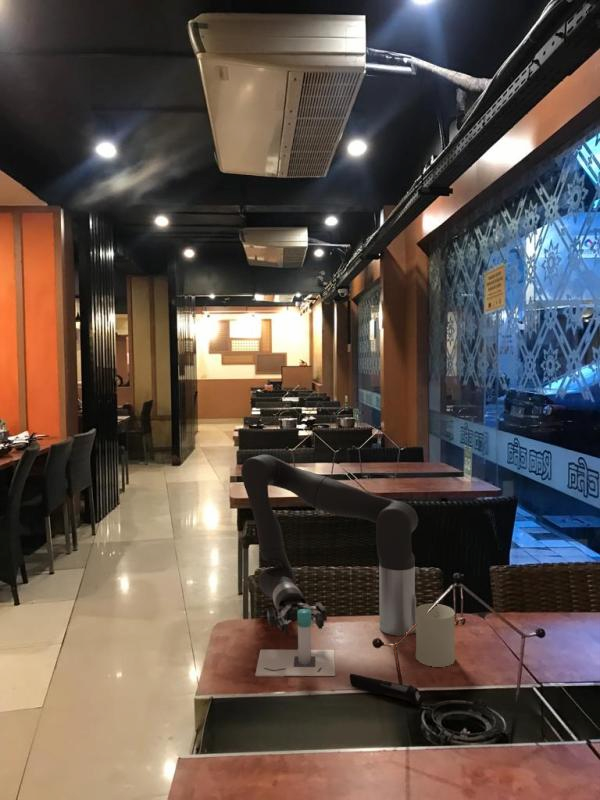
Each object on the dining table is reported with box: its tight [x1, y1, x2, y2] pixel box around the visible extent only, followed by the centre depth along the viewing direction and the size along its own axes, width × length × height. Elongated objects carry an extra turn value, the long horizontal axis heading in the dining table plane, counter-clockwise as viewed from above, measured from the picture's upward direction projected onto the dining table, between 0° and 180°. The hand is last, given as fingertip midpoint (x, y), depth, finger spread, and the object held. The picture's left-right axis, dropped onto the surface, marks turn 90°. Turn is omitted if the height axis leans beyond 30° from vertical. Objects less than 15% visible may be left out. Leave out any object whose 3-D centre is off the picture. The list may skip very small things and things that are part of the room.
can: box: [414, 603, 456, 668], centre depth 143 cm, size 9×9×12 cm
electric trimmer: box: [349, 673, 422, 706], centre depth 128 cm, size 4×16×3 cm, turn 63°
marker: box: [297, 609, 312, 665], centre depth 141 cm, size 3×3×12 cm
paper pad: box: [254, 649, 336, 677], centre depth 142 cm, size 18×12×1 cm, turn 88°
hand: (303, 626), depth 142 cm, fingers open, 8 cm apart
